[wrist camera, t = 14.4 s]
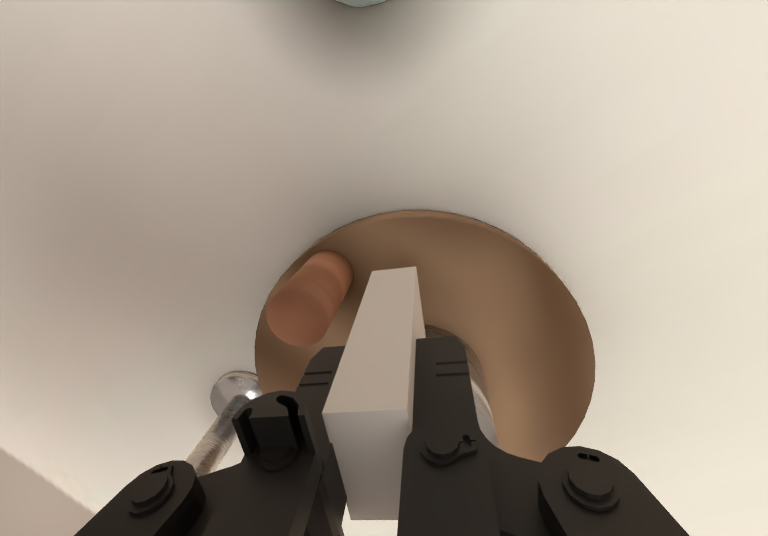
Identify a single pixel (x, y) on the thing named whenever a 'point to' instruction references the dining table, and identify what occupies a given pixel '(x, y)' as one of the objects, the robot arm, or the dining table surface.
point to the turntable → (445, 316)
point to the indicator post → (223, 419)
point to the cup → (361, 2)
